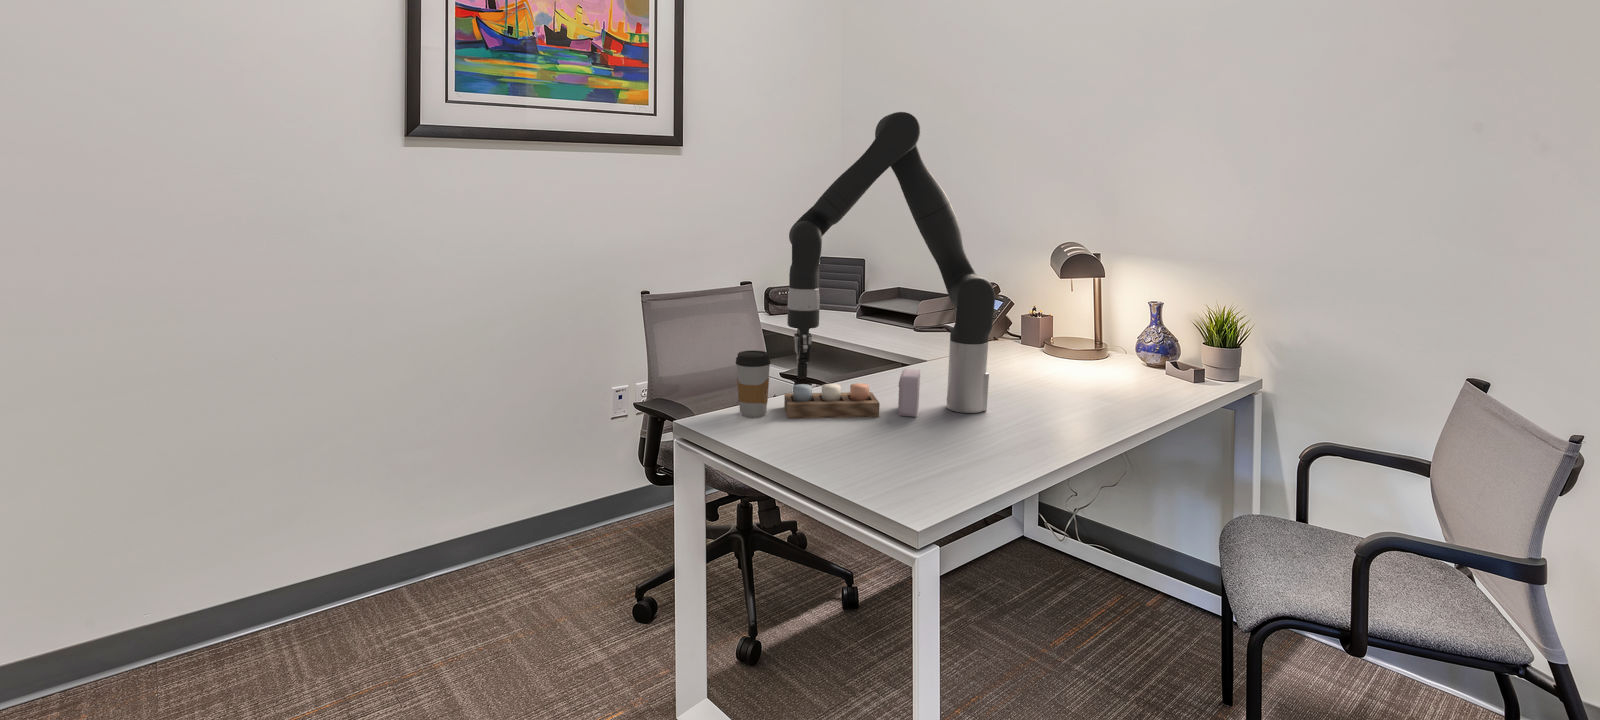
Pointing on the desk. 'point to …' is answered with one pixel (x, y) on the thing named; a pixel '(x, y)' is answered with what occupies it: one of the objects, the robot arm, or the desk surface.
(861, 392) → the pink rounded block
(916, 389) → the electronic device
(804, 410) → the brown wooden tray
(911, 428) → the desk surface
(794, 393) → the light blue rounded block
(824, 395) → the cream key
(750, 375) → the coffee cup
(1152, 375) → the desk surface
